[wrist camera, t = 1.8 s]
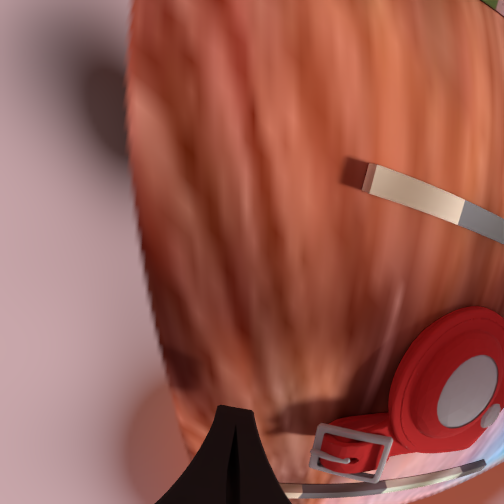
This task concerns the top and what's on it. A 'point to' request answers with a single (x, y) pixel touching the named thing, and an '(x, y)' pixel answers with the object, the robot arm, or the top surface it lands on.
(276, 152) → the top surface
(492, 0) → the ink box
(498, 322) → the tracker holder
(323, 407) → the top surface
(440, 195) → the track
